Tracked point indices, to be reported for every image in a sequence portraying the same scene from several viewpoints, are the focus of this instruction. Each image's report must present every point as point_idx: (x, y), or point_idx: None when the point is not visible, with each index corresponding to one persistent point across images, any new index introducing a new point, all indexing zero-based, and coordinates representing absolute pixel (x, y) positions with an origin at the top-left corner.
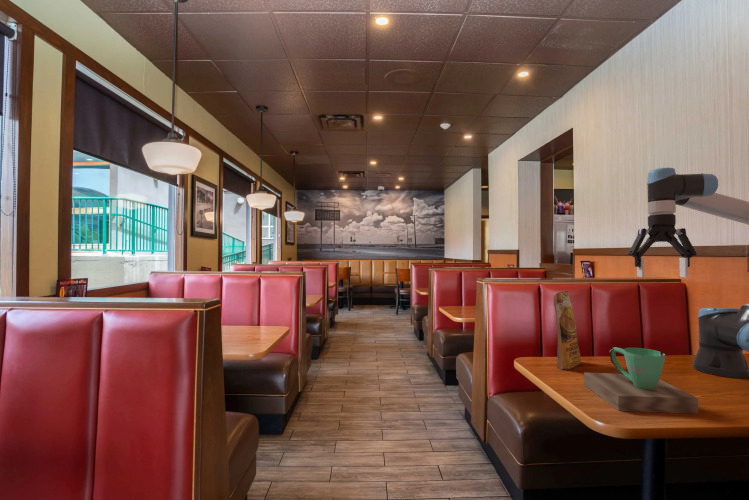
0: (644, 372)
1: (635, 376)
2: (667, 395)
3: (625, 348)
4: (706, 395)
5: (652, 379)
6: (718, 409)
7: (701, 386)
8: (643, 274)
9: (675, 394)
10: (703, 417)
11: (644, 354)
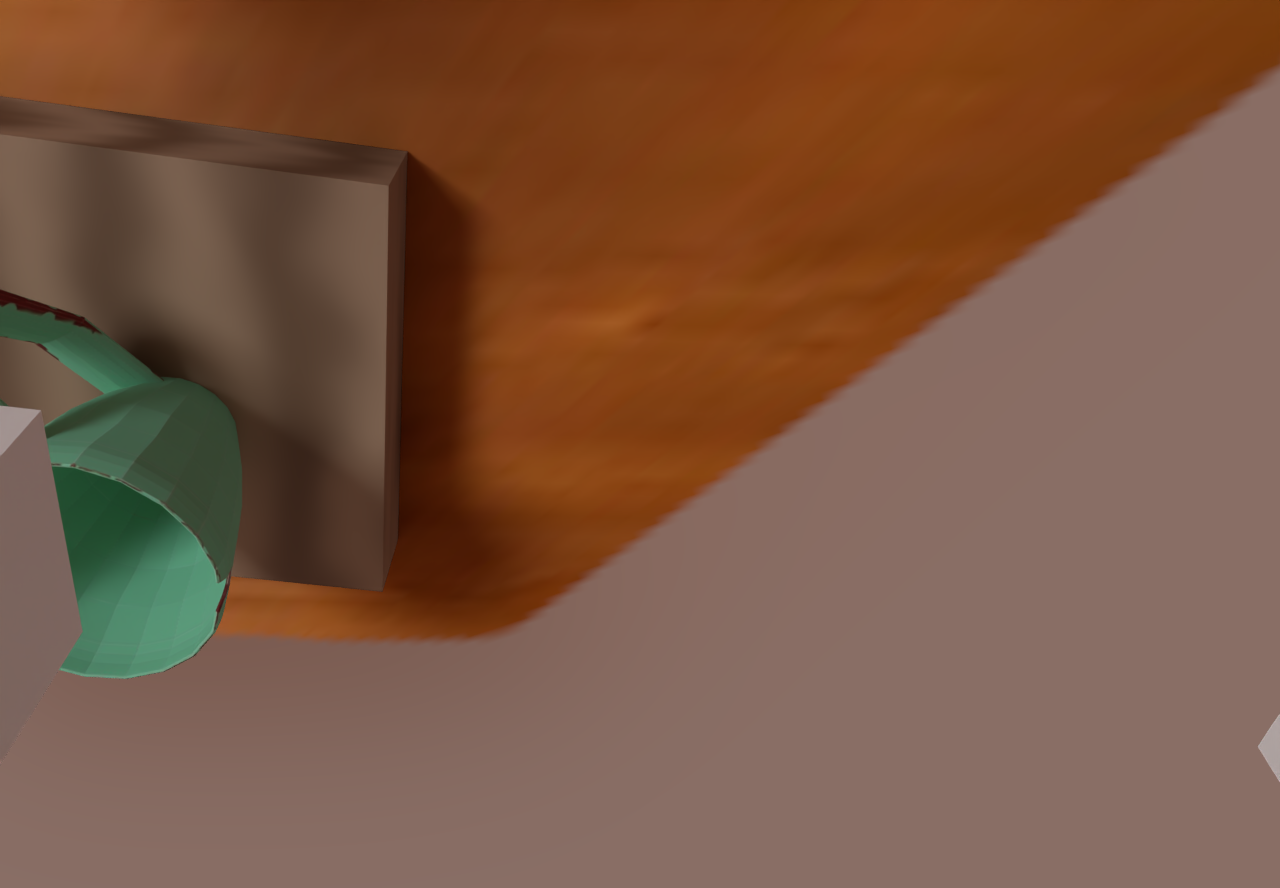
0: (93, 560)
1: (74, 490)
2: (237, 552)
3: None
4: (690, 314)
5: (162, 538)
6: (557, 497)
7: (835, 145)
8: (15, 689)
9: (295, 542)
10: (390, 572)
11: (155, 470)
